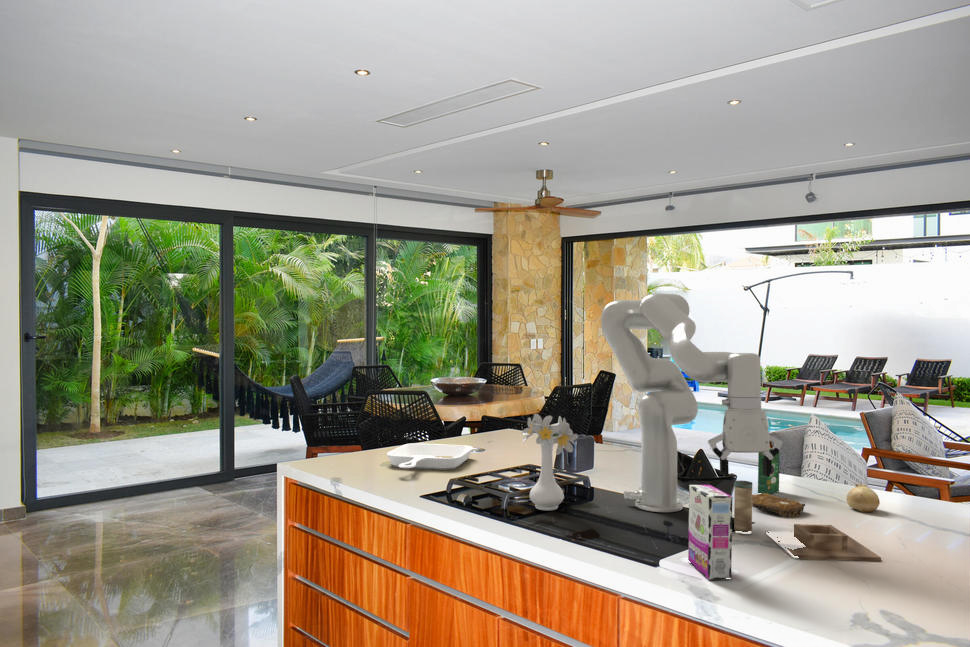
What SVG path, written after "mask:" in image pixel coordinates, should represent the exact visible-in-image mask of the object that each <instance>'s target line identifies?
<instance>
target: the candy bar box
mask: <svg viewBox="0 0 970 647" xmlns="http://www.w3.org/2000/svg"><path fill="white" fill-rule="evenodd" d="M688 486H689V487H688V488H689V489H688V491H689V494H688V496H689V497H688V544H687V546H688V552H687V554H688V556H687V557H688V559H687V561H688V560H689V561H690V562H691V564H692V565H693V566H694V567H693V566H692V565H691V564H690V565H691V566H692V567H693V568H695V569H696V570H697V571H698V572H699V573H700V574H702V575H703V576H704V577H705V578H706V579H707V580H709V581H722V580H721V579H726V578H731V579H732V562H733V561H732V558H733V556H732V555H733V554H732V551H733V549H732V545H733V544H732V543H733V541H732V540H733V499H734V498H733V497H734V496H732V495H730V494H728V493H727V492H724V491H723V490H720V489H719V488H718V487H717V488H716V487H714V485H711V484H689V485H688Z"/></svg>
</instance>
